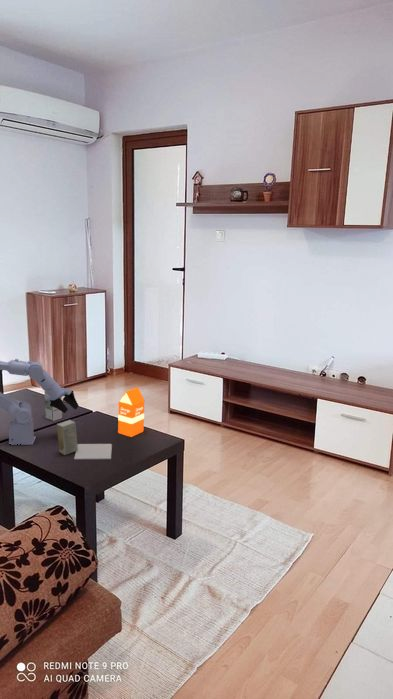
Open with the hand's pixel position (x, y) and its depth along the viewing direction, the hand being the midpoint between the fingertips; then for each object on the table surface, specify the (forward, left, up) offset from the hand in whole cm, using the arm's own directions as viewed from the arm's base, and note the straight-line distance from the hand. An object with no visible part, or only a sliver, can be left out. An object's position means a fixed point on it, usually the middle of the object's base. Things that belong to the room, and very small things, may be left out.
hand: (71, 409), depth 213 cm
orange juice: (+25, +7, -13) cm, 29 cm away
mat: (+10, -14, -13) cm, 22 cm away
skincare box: (0, -14, -13) cm, 19 cm away
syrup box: (-11, +24, -13) cm, 30 cm away
